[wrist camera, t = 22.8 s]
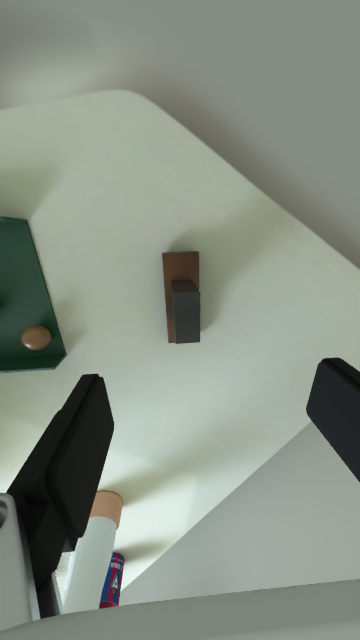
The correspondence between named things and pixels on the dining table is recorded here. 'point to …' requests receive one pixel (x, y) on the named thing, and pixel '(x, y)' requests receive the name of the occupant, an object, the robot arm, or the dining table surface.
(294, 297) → the dining table surface
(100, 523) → the salt shaker
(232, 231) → the dining table surface
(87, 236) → the dining table surface
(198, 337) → the brush
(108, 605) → the mug
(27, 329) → the crumb
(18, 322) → the dustpan
